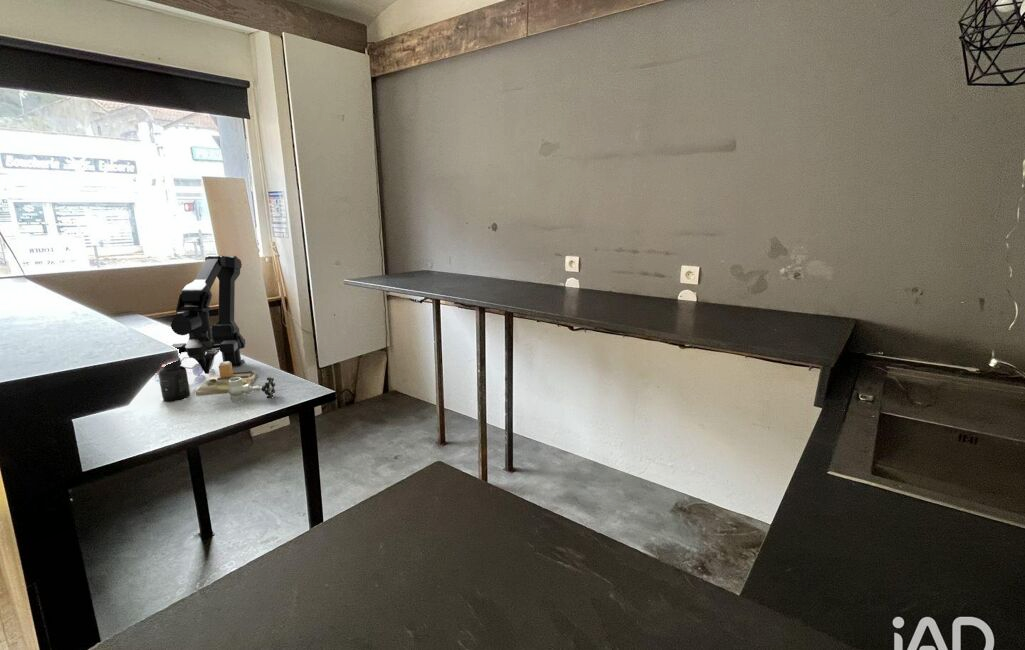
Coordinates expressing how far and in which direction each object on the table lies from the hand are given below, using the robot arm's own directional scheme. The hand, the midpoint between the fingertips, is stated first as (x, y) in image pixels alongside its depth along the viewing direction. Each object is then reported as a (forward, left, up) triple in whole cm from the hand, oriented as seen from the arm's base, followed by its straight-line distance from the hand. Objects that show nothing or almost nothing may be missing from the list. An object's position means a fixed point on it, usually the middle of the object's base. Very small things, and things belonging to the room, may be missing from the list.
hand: (207, 373), depth 157 cm
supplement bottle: (+13, -5, -3) cm, 14 cm away
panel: (+5, +7, -3) cm, 9 cm away
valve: (+20, +17, -3) cm, 26 cm away
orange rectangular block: (0, +6, -1) cm, 6 cm away
